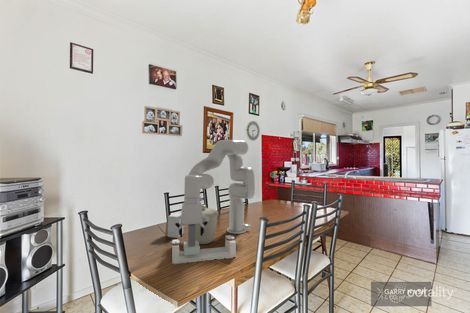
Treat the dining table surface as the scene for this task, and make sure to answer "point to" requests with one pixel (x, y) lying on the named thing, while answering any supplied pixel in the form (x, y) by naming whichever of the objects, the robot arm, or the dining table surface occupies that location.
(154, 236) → the dining table surface
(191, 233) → the carriage
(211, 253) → the rail track
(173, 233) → the supplement box
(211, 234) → the canister
